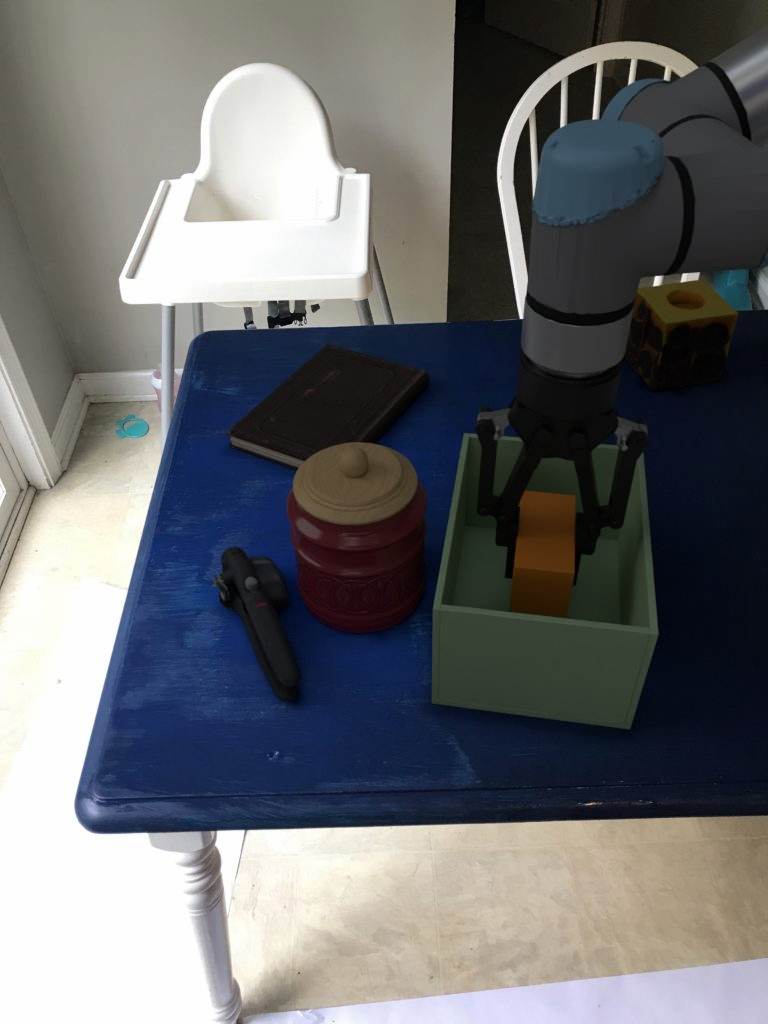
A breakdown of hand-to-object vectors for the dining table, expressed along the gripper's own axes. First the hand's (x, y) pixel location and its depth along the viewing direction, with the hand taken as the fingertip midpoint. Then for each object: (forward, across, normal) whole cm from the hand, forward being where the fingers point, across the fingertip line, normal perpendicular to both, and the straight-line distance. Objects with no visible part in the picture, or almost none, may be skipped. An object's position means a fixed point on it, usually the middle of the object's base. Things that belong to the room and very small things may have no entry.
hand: (540, 570), depth 77 cm
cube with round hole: (+7, -16, -47) cm, 50 cm away
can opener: (+7, +25, +6) cm, 27 cm away
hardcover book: (+7, +27, -30) cm, 41 cm away
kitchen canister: (+7, +17, -1) cm, 19 cm away
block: (+1, 0, 0) cm, 1 cm away
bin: (+6, 0, 0) cm, 6 cm away
